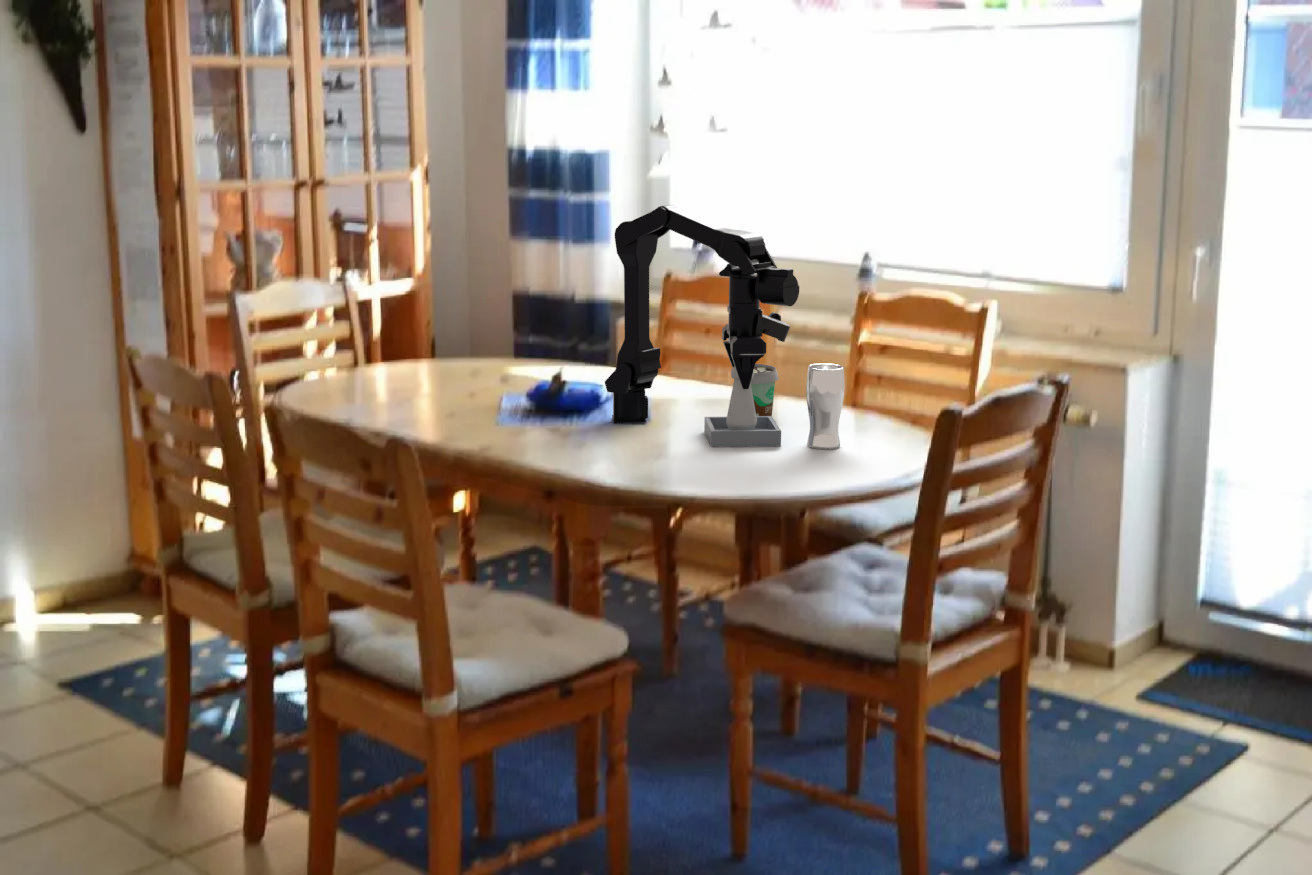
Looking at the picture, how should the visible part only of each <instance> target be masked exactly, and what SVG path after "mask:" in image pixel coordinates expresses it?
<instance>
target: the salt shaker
mask: <svg viewBox="0 0 1312 875" xmlns="http://www.w3.org/2000/svg"><path fill="white" fill-rule="evenodd" d="M730 376H731V379H733V384H732V390H731V395H730V400H729V404H728V410H727V415H726V417H727V419H726V424H727V426H728V429H729V430H754V429H755V426H756V424H757V418H756V412H755V406H754V400H753V394H752V388H751V382H750V386H749V389H743V388H742V385H741V382H740V379H739V376H738V374H737V371H736V368H735V366H734V367H733V368H731V371H730ZM753 377H754V370H753V374H752V378H753ZM752 378H751V379H752Z"/></svg>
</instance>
